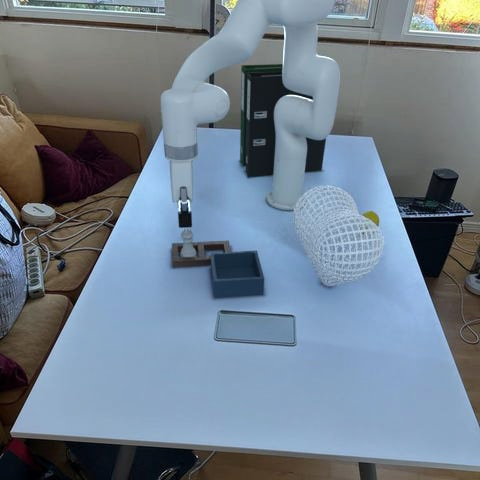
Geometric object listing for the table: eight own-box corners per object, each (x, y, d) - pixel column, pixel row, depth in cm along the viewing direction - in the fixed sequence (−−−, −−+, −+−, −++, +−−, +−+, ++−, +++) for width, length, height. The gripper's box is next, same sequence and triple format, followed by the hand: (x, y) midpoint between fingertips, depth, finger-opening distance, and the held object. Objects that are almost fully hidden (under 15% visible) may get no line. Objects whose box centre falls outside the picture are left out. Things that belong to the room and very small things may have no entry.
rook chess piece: (199, 254, 127) (198, 228, 121) (193, 263, 124) (191, 237, 118) (184, 251, 128) (182, 225, 122) (177, 260, 125) (175, 234, 119)
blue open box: (210, 269, 122) (210, 252, 118) (256, 266, 123) (256, 250, 120) (214, 298, 113) (213, 281, 110) (263, 295, 114) (264, 278, 111)
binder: (310, 155, 177) (321, 62, 156) (322, 172, 167) (336, 74, 145) (240, 160, 173) (241, 65, 152) (248, 178, 162) (251, 77, 141)
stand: (172, 249, 128) (171, 243, 127) (228, 246, 130) (228, 240, 129) (172, 267, 122) (172, 261, 121) (232, 264, 124) (232, 258, 122)
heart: (280, 256, 127) (287, 178, 112) (333, 249, 130) (347, 173, 115) (317, 324, 107) (331, 240, 92) (379, 314, 110) (403, 232, 95)
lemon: (375, 242, 133) (382, 217, 128) (356, 239, 134) (361, 214, 128) (375, 232, 137) (381, 207, 132) (356, 230, 138) (361, 205, 132)
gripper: (164, 136, 112) (169, 201, 123) (164, 165, 99) (170, 235, 110) (195, 135, 113) (197, 200, 124) (199, 164, 100) (201, 234, 111)
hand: (184, 217), depth 117 cm, fingers open, 9 cm apart
